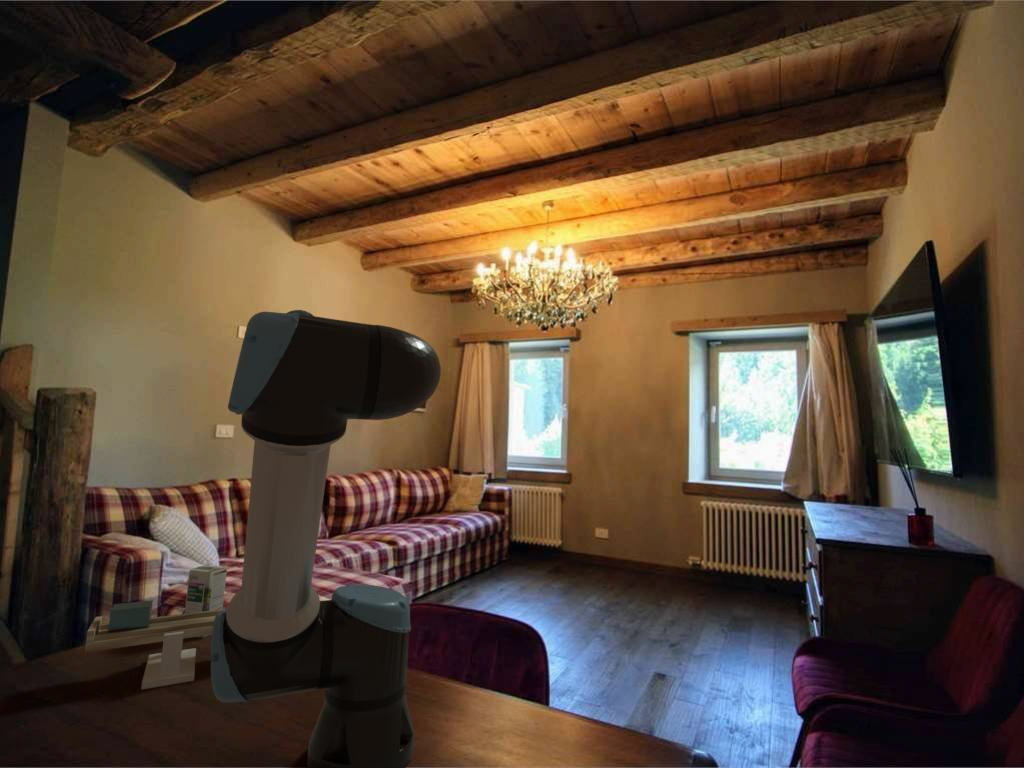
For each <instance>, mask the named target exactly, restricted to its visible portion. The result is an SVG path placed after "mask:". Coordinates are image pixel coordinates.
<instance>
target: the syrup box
mask: <svg viewBox="0 0 1024 768" xmlns="http://www.w3.org/2000/svg"><path fill="white" fill-rule="evenodd" d="M227 574H228V566H216V565H210V564H209V565H208V564H207V565H199V566H196V567H193V568H192V569H190V570H189V572H188V578H187V579H188V581H187V587H186V588H187V589H186V597H185V598H186V599H185V605H184V606H185V607H184V608H185V609H184V614H186V613H195V612H203V611H212V610H220V609H224V600H225V590H226V583H227V582H226V581H227ZM207 637H209V635H205V636H198V637H197V638H200V639H204V638H207Z"/></svg>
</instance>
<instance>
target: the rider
mask: <svg viewBox="0 0 1024 768" xmlns="http://www.w3.org/2000/svg"><path fill="white" fill-rule="evenodd" d="M152 610H153V600H141V601H134V602H133V601H132V602H126V603H125V602H123V603H115V604H113V606H112V608H111V610H110V612H109V613H110V614H109V619H108V620H109V622H108V623H109V629H108V633H113V632H121V631H128V630H136V629H144V628H149V626H150V621H151V618H152Z"/></svg>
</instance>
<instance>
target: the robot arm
mask: <svg viewBox="0 0 1024 768" xmlns="http://www.w3.org/2000/svg"><path fill="white" fill-rule="evenodd" d="M441 367H442V366H441V362H440V358H439V356H438V354H437V352H436V350H435V349H434V347H433V346H432V345H431V344H429V342H427V341H426V340H425V339H423V338H421V337H420V336H418V335H415V334H413V333H410V332H408V331H404V330H402V329H398V328H396V327H392V326H386V325H380V324H368V323H361V322H355V321H349V320H341V319H334V318H329V317H328V318H327V317H321V316H317V315H313V314H312V313H311V312H309V311H306V310H302V309H294V310H289V311H287V312H275V311H259V312H257V313H255V314H253V315H252V316H251V318H250V319H249V320H248V321H247V325H246V328H245V333H244V336H243V340H242V345H241V349H240V352H239V356H238V360H237V364H236V369H235V374H234V377H233V380H232V381H233V383H232V385H231V391H230V395H229V399H228V403H227V409H228V411H229V412H231V413H234V414H236V415H237V416H238V415H240V416H241V420H240V421H241V428H242V430H243V432H244V433H245V434H246V435H247V436H248V437H249V438H251V439H252V440H253V443H254V444H253V445H254V446H253V455H252V465H251V466H252V468H251V478H250V489H249V490H250V491H249V500H248V511H247V523H246V534H245V543H244V553H243V554H244V555H243V556H244V557H243V565H242V566H243V568H242V578H241V588H240V589H239V590H238V591H237V592H236V593H235V594H234V595H233V596H232V598H230V600H229V603H228V604H227V607H226V608H223V609H224V610H221V611H219V612H218V613H217V614H216V617H215V619H214V624H213V630H212V635H211V639H210V640H211V642H210V659H211V660H210V678H211V679H210V680H211V686H212V691H213V694H214V697H215V698H216V699H217V701H219V702H221V703H226V704H227V703H228V704H230V703H240V702H241V703H242V702H245V703H249V702H250V703H251V702H252V701H255V700H257V701H258V700H262V699H269V698H273V697H274V698H275V697H280V696H287V695H293V694H298V693H304V692H312V691H317V690H323V689H325V694H324V695H325V696H324V702H323V705H322V708H321V710H320V712H319V715H318V718H317V719H316V723H315V726H314V729H313V731H312V733H311V735H310V738H309V742H308V748H307V760H306V763H307V767H308V768H405V767H406V766H407V765H408V764H409V762H410V760H411V759H412V757H413V754H414V747H415V730H414V725H413V722H412V718H411V713H410V710H409V705H408V702H407V697H406V688H407V687H406V686H407V685H406V684H407V673H408V672H407V670H408V658H409V657H408V655H409V640H410V632H411V630H412V625H411V605H410V602H409V600H408V598H407V597H406V596H405V595H404V594H402V593H401V592H399V591H397V590H394V589H392V588H389V587H385V586H381V585H380V586H379V585H374V584H373V585H371V584H362V583H360V584H358V583H357V584H355V583H354V584H346V585H342V586H338V587H337V588H335V590H334V591H333V593H332V594H331V599H329V600H320V596H319V594H318V593H317V591H316V589H315V588H314V587H313V586H312V581H313V575H314V568H315V567H314V566H315V560H316V554H317V553H316V552H317V546H318V538H319V533H320V532H319V531H320V525H321V516H322V511H323V502H324V494H325V490H326V489H325V487H326V482H327V473H328V465H329V460H330V453H331V446H332V445H333V444H335V443H337V442H338V441H340V440H341V439H342V438H343V437H344V436H345V434H346V432H347V424H348V420H365V421H367V420H369V421H380V420H383V421H384V420H390V419H395V418H399V417H402V416H404V415H407V414H409V413H411V412H414V411H416V410H417V409H419V408H421V407H422V406H423V405H424V404H426V402H427V401H428V400H429V399H430V398H431V397H433V395H434V393H435V392H436V390H437V388H438V386H439V383H440V380H441V375H442V374H441V372H442V370H441V369H442V368H441Z"/></svg>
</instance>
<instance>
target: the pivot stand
mask: <svg viewBox="0 0 1024 768" xmlns="http://www.w3.org/2000/svg"><path fill="white" fill-rule="evenodd" d="M183 632H184V631H182V632H174V633H167V634H164V641H162V642H163V643H162V650H161V651H162V652H160V653H159V652H158V653H153V654H149V655H148V659H147V663H146V666H145V670H144V672H143V673H144V674H143V677H142V681H141V691H142V690H147V689H153V688H159V687H165V686H171V685H178V684H183V683H187V682H194V681H195V671H196V670H195V669H196V654H197V648H196V647H195V648H188V649H187V648H186V649H183V642H184V639H183Z"/></svg>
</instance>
